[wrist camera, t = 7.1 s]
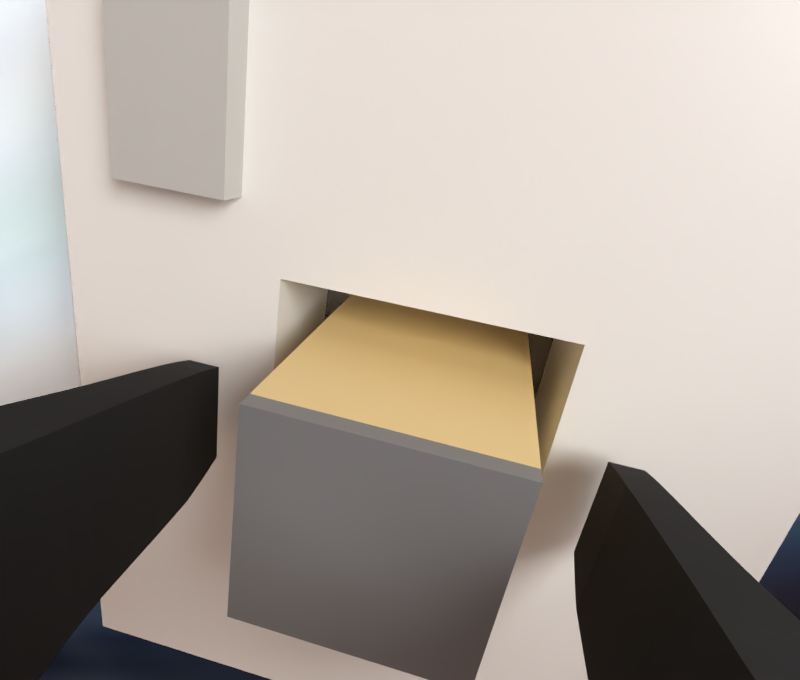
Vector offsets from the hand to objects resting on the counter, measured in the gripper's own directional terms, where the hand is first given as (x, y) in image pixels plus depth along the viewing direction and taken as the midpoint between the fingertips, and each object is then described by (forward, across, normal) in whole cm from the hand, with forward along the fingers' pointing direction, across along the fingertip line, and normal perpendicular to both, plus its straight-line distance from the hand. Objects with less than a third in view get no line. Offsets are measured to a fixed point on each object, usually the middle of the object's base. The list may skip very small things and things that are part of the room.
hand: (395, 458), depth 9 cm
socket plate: (+4, 0, 0) cm, 4 cm away
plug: (+4, 0, 0) cm, 4 cm away
